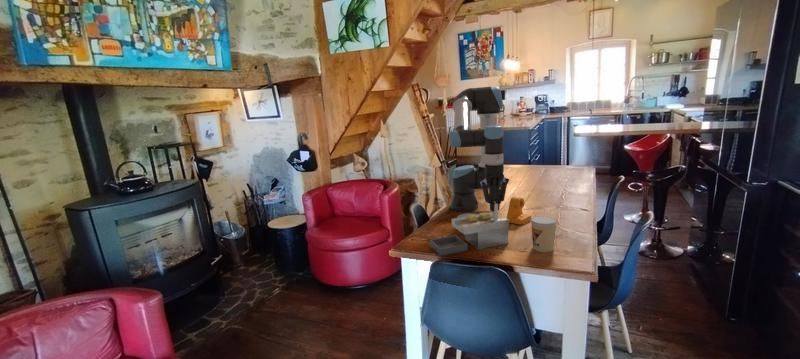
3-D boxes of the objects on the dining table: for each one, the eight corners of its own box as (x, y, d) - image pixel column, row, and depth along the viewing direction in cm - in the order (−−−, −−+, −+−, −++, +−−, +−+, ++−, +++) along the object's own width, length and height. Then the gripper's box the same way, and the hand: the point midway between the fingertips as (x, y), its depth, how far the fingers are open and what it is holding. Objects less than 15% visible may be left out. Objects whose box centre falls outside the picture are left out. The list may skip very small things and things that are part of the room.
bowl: (467, 235, 168) (467, 222, 167) (452, 228, 178) (452, 216, 177) (487, 230, 173) (487, 217, 172) (471, 223, 183) (471, 211, 182)
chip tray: (430, 246, 160) (430, 239, 159) (456, 241, 163) (455, 235, 162) (440, 256, 149) (440, 249, 149) (467, 251, 152) (467, 244, 152)
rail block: (452, 241, 163) (451, 218, 161) (493, 234, 168) (493, 211, 166) (464, 252, 152) (464, 227, 149) (508, 243, 157) (508, 219, 155)
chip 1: (466, 223, 158) (466, 215, 157) (473, 222, 159) (473, 214, 158) (470, 225, 155) (469, 217, 154) (477, 224, 156) (477, 216, 155)
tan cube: (479, 221, 160) (478, 213, 159) (486, 219, 161) (486, 212, 160) (483, 223, 157) (482, 215, 156) (490, 222, 157) (490, 214, 157)
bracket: (520, 226, 176) (520, 201, 173) (506, 223, 181) (506, 199, 179) (532, 220, 183) (532, 196, 180) (518, 217, 188) (518, 194, 185)
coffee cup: (526, 245, 154) (527, 217, 152) (548, 242, 155) (549, 215, 152) (536, 254, 145) (537, 224, 143) (560, 251, 146) (561, 222, 143)
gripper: (484, 166, 149) (485, 223, 154) (513, 163, 153) (513, 218, 158) (475, 164, 156) (476, 217, 161) (503, 160, 160) (503, 213, 165)
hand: (494, 217), depth 160 cm, fingers closed
